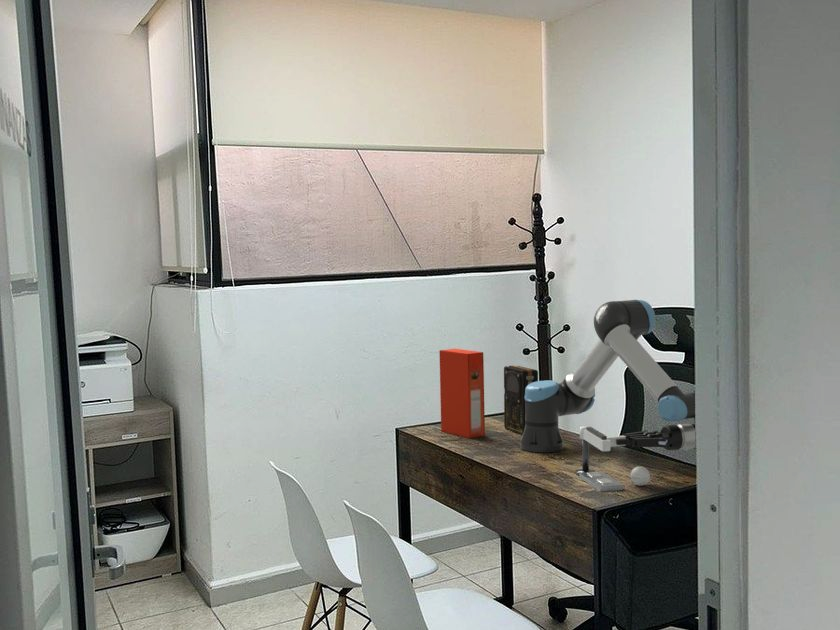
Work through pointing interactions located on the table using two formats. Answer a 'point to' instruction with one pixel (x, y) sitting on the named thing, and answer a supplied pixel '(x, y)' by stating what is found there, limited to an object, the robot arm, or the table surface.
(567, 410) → the robot arm
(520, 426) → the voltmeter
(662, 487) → the table surface
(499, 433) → the table surface
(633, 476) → the white egg shape
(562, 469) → the table surface
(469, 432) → the file binder
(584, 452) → the post
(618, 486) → the plate
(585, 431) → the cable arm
